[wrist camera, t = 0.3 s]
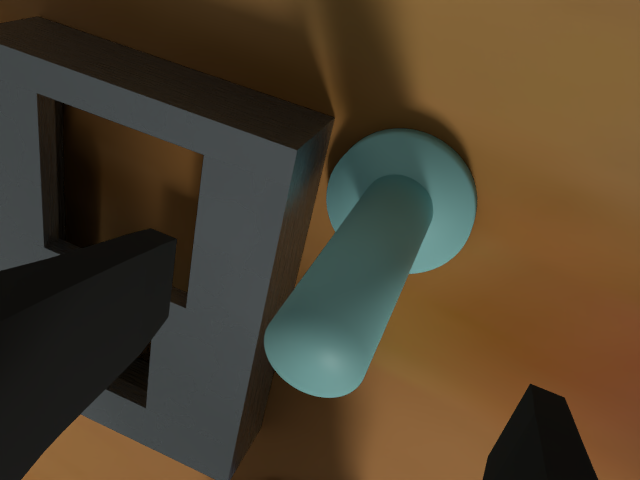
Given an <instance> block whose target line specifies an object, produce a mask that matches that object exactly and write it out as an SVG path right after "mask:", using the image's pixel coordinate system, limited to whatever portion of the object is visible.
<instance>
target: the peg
mask: <svg viewBox="0 0 640 480" xmlns="http://www.w3.org/2000/svg"><path fill="white" fill-rule="evenodd" d="M326 201H327V210H328V214H329V218H330V221H331V224H332V226H333V228H334V230H335V234H334V235H333V236H332V238H331V239H330V241H329V242H328V243H327V245H326V246H325V247H324V249H323V250H322V252H321V253H320V254H319V256H318V257H317V258H316V260H315V261H314V263H313V264H312V265H311V267H310V268H309V269H308V271H307V272H306V274H305V275H304V276H303V278H302V279H301V280H300V282H299V283H298V285H297V286H296V287H295V289H294V290H293V291H292V293H291V294H290V296H289V297H288V298H287V300H286V301H285V302H284V304H283V305H282V307H281V308H280V309H279V311H278V312H277V314H276V315H275V316H274V318H273V319H272V320H271V322H270V323H269V325H268V327H267V328H266V331H265V336H264V347H265V352H266V355H267V357H268V360H269V362H270V363H271V365H272V367H273V368H274V370H275V371H276V372H277V373H278V374H279V375H280V377H281V378H283V379H284V380H285V381H286V382H287V383H289V384H290V385H291V386H293V387H294V388H296V389H298V390H300V391H302V392H304V393H307V394H309V395H313V396H317V397H323V398H335V397H341V396H344V395H347V394H349V393H351V392H352V391H354V390H355V389H356V388H357V387H358V386H359V385H360V384H361V382H362V381H363V378H364V376H365V374H366V372H367V369H368V367H369V365H370V362H371V360H372V358H373V355H374V353H375V351H376V348H377V346H378V344H379V342H380V339H381V337H382V335H383V332H384V330H385V328H386V325H387V323H388V321H389V318H390V316H391V314H392V311H393V309H394V307H395V304H396V302H397V300H398V298H399V295H400V293H401V291H402V288H403V286H404V284H405V281H406V279H407V277H408V274H414V273H421V272H425V271H429V270H432V269H435V268H437V267H439V266H441V265H443V264H445V263H446V262H448V261H449V260H450V259H452V258H453V257H454V256H455V255H456V254H457V253H458V252H459V251H460V250H461V249H462V247H463V246H464V244H465V243H466V241H467V239H468V237H469V235H470V232H471V229H472V226H473V223H474V219H475V216H476V210H477V192H476V186H475V183H474V179H473V177H472V175H471V172H470V170H469V168H468V167H467V165H466V163H465V162H464V161H463V159H462V158H461V157H460V156H459V154H458V153H457V152H456V151H455V150H454V149H452V148H451V147H450V146H449V145H447V144H446V143H445V142H443V141H442V140H440V139H438V138H436V137H435V136H432V135H430V134H428V133H425V132H422V131H418V130H413V129H406V128H394V129H386V130H382V131H378V132H375V133H373V134H370V135H368V136H366V137H364V138H363V139H361V140H360V141H358V142H357V143H356V144H355V145H353V146H352V147H351V148H350V150H349V151H348V152H347V153H346V154H345V155H344V156H343V157H342V158H341V159H340V160H339V162H338V163H337V165H336V166H335V168H334V170H333V172H332V174H331V176H330V179H329V182H328V187H327V198H326Z"/></svg>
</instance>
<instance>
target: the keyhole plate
mask: <svg viewBox="0 0 640 480" xmlns="http://www.w3.org/2000/svg"><path fill="white" fill-rule="evenodd" d="M62 103H65V104H68V105H70V106H73V107H76V108H78V109H81V110H84V111H87V112H89V113H92V114H95V115H97V116H100V117H103V118H105V119H108V120H111V121H114V122H116V123H119V124H122V125H124V126H127V127H130V128H132V129H135V130H138V131H141V132H143V133H146V134H149V135H151V136H154V137H157V138H159V139H162V140H165V141H168V142H170V143H173V144H176V145H178V146H181V147H184V148H186V149H189V150H192V151H195V152H197V153H200V154H203V155H204V158H203V167H202V176H201V184H200V193H199V201H198V210H197V218H196V227H195V235H194V244H193V252H192V261H191V270H190V278H189V287H188V293H187V292H185V291H182V290H180V289H178V288H175V287H173V286H172V290H171V299H170V309H169V317H168V318H167V320H166V321H165V322H164V324H163V325H162V326H161V328H160V329H159V330H158V332H157V333H156V335H155V336H154V337H153V339H152V340H151V351H150V363H148V362H146V361H143V360H141V359H139V358H136V359H135V360H134V361H133V362H132V363H131V364H130V365H129V366H128V367H127V368H126V369H125V370H124V371H123V372H122V373H121V374H120V375H119V376H118V377H117V378H116V379H115V380H114V381H113V382H112V383H111V384H110V385H109V386H108V387H107V388H106V389H105V390H104V391H103V392H102V393H101V394H100V395H99V396H98V397H97V398H96V399H95V400H94V401H93V402H92V403H91V404H90V405H89V406H88V407H87V408H86V409H85V410H84V411H83V412H82V413H81V415H83V416H85V417H87V418H89V419H91V420H94V421H96V422H98V423H100V424H102V425H104V426H106V427H108V428H110V429H112V430H114V431H116V432H118V433H120V434H122V435H124V436H127V437H129V438H131V439H133V440H135V441H137V442H139V443H141V444H143V445H145V446H147V447H149V448H151V449H153V450H155V451H158V452H160V453H162V454H164V455H166V456H168V457H170V458H172V459H174V460H176V461H178V462H180V463H182V464H184V465H186V466H189V467H191V468H193V469H195V470H197V471H199V472H201V473H203V474H205V475H207V476H209V477H211V478H213V479H215V480H230V479H231V478H232V476H233V474H234V473H235V471H236V469H237V468H238V466H239V464H240V462H241V461H242V459H243V457H244V456H245V454H246V452H247V451H248V449H249V447H250V446H251V444H252V442H253V441H254V439H255V437H256V435H257V434H258V432H259V430H260V428H261V424H262V420H263V416H264V412H265V408H266V403H267V399H268V395H269V391H270V387H271V382H272V378H273V374H274V368H273V367H272V365H271V363H270V362H269V360H268V357H267V355H266V352H265V347H264V336H265V331H266V328H267V327H268V325H269V323H270V322H271V320H272V319H273V318H274V316H275V315H276V314H277V312H278V311H279V309H280V308H281V307H282V305H283V304H284V302H285V301H286V300H287V298H288V297H289V296H290V294H291V293H292V291H293V290H294V286H295V282H296V278H297V274H298V270H299V266H300V261H301V257H302V253H303V249H304V245H305V240H306V236H307V232H308V228H309V224H310V220H311V215H312V211H313V207H314V203H315V199H316V195H317V190H318V186H319V182H320V178H321V174H322V169H323V165H324V161H325V157H326V153H327V149H328V144H329V140H330V136H331V132H332V128H333V124H334V119H335V118H334V117H331V116H328V115H325V114H322V113H319V112H316V111H313V110H311V109H308V108H305V107H302V106H299V105H296V104H293V103H290V102H287V101H284V100H281V99H278V98H275V97H272V96H270V95H267V94H264V93H261V92H258V91H255V90H252V89H249V88H246V87H243V86H240V85H237V84H234V83H231V82H229V81H226V80H223V79H220V78H217V77H214V76H211V75H208V74H205V73H202V72H199V71H196V70H193V69H190V68H188V67H185V66H182V65H179V64H176V63H173V62H170V61H167V60H164V59H161V58H158V57H155V56H152V55H149V54H147V53H144V52H141V51H138V50H135V49H132V48H129V47H126V46H123V45H120V44H117V43H114V42H111V41H108V40H106V39H103V38H100V37H97V36H94V35H91V34H88V33H85V32H82V31H79V30H76V29H73V28H70V27H67V26H65V25H62V24H59V23H56V22H53V21H50V20H47V19H44V18H41V17H32V18H27V19H21V20H16V21H10V22H4V23H0V271H1V270H5V269H9V268H13V267H17V266H21V265H25V264H29V263H32V262H36V261H40V260H44V259H48V258H51V257H55V256H58V255H62V254H65V253H68V252H72V251H75V250H78V249H82V248H80V247H78V246H76V245H73V244H71V243H69V242H66V237H65V195H64V153H63V111H62Z"/></svg>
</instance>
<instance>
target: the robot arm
mask: <svg viewBox="0 0 640 480" xmlns="http://www.w3.org/2000/svg"><path fill="white" fill-rule="evenodd" d="M176 244H177V239H176V238H173V237H171V236H168V235H166V234H163V233H161V232H158V231H156V230H154V229H151V228H150V229H146V230H142V231H138V232H135V233H131V234H128V235H124V236H121V237H118V238H114V239H111V240H108V241H105V242H101V243H98V244H95V245H92V246H88V247H85V248H82V249H78V250H75V251H72V252H68V253H65V254H62V255H58V256H55V257H51V258H48V259H44V260H40V261H36V262H32V263H29V264H25V265H21V266H17V267H13V268H9V269H5V270H1V271H0V480H21V479H22V478H23V477H24V475H25V474H26V473H27V472H28V471H29V469H30V468H31V467H32V466H33V465H34V463H35V462H36V461H37V460H38V459H39V457H40V456H41V455H42V454H43V452H44V451H45V450H46V449H47V448H48V447H49V446H50V445H51V444H52V443H53V442H54V441H55V439H56V438H57V437H58V436H59V435H60V434H61V433H62V432H63V431H64V430H65V429H66V428H67V427H68V426H69V425H70V424H71V423H72V422H73V421H74V420H75V419H76V418H77V417H78V416H79V415H80V414H81V413H82V412H83V411H84V410H85V409H86V408H87V407H88V406H89V405H90V404H91V403H92V402H93V401H94V400H95V399H96V398H97V397H98V396H99V395H100V394H101V393H102V392H103V391H104V390H105V389H106V388H107V387H108V386H109V385H110V384H111V383H112V382H113V381H114V380H115V379H116V378H117V377H118V376H119V375H120V374H121V373H122V372H123V371H124V370H125V369H126V368H127V367H128V366H129V365H130V364H131V363H132V362H133V361H134V360H135V359H136V358H137V357H138V356H139V355H140V354H141V352H142V351H143V350H144V349H145V347H146V346H147V345H148V344H149V342H150V341H151V340H152V339H153V337H154V336H155V335H156V333H157V332H158V330H159V329H160V328H161V326H162V325H163V324H164V322H165V321H166V320H167V318H168V317H169V309H170V299H171V290H172V281H173V272H174V262H175V253H176ZM483 480H598V478H597V476H596V473H595V471H594V469H593V466H592V464H591V461H590V459H589V457H588V454H587V452H586V449H585V447H584V444H583V442H582V439H581V437H580V434H579V432H578V429H577V427H576V424H575V422H574V419H573V417H572V414H571V412H570V409H569V407H568V405H567V402H566V400H565V398H564V397H562V396H559V395H557V394H554V393H552V392H549V391H547V390H545V389H542V388H540V387H537V386H535V385H532V384H530V385H529V387H528V389H527V390H526V392H525V394H524V395H523V397H522V399H521V401H520V402H519V404H518V406H517V408H516V409H515V411H514V413H513V414H512V416H511V418H510V420H509V421H508V423H507V425H506V426H505V428H504V430H503V432H502V433H501V435H500V437H499V439H498V440H497V442H496V444H495V445H494V447H493V449H492V451H491V452H490V454H489V456H488V459H487V463H486V467H485V472H484V476H483Z"/></svg>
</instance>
